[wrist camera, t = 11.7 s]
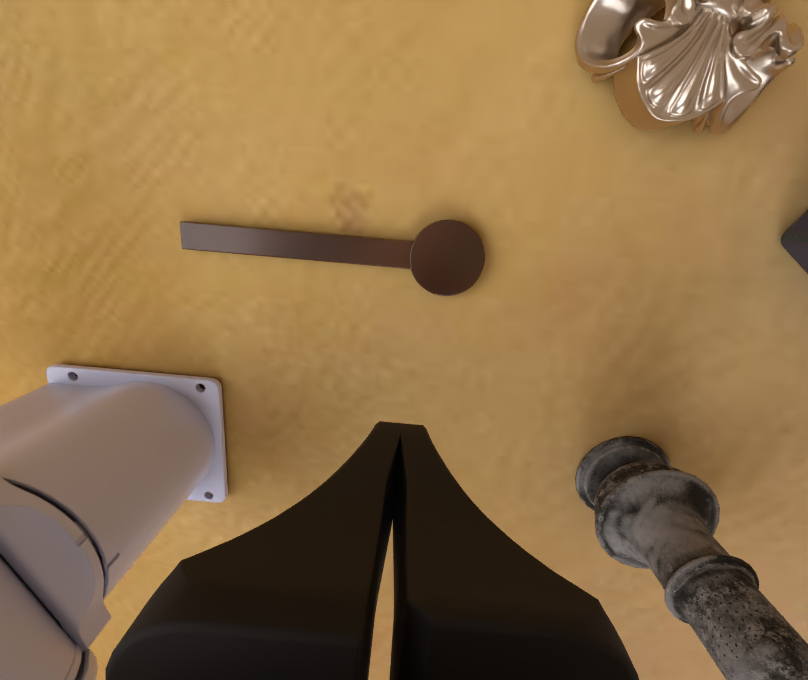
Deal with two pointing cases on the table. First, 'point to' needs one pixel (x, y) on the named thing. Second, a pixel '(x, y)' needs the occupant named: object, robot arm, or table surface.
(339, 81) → the table surface
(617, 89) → the ornament
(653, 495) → the grey stone chess piece
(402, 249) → the brown disc-ended stick
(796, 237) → the calculator
